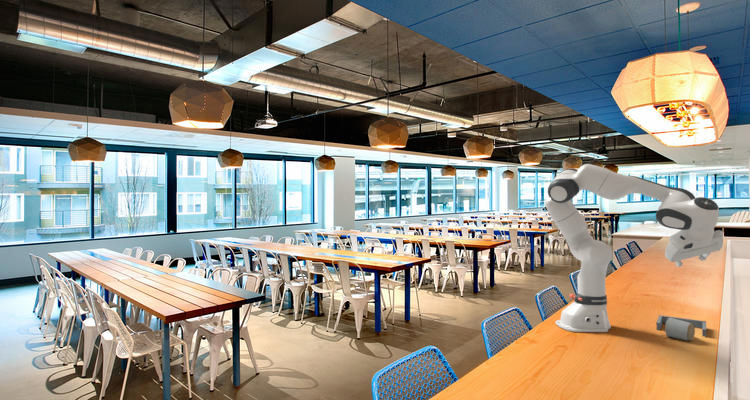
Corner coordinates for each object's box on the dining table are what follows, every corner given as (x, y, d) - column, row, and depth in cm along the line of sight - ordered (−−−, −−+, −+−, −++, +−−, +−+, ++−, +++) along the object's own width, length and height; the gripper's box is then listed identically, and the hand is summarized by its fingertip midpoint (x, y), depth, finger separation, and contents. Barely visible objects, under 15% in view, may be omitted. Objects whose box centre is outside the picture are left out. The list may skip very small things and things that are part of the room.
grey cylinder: (689, 343, 152) (689, 323, 153) (664, 338, 159) (664, 319, 159) (698, 338, 159) (698, 319, 159) (674, 332, 165) (673, 314, 165)
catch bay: (706, 337, 159) (706, 329, 159) (656, 329, 169) (656, 322, 169) (706, 328, 169) (706, 321, 169) (659, 321, 180) (659, 315, 180)
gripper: (717, 224, 152) (709, 250, 159) (664, 237, 152) (659, 263, 160) (731, 234, 146) (722, 261, 154) (677, 248, 147) (671, 274, 154)
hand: (690, 262), depth 157 cm, fingers open, 8 cm apart
